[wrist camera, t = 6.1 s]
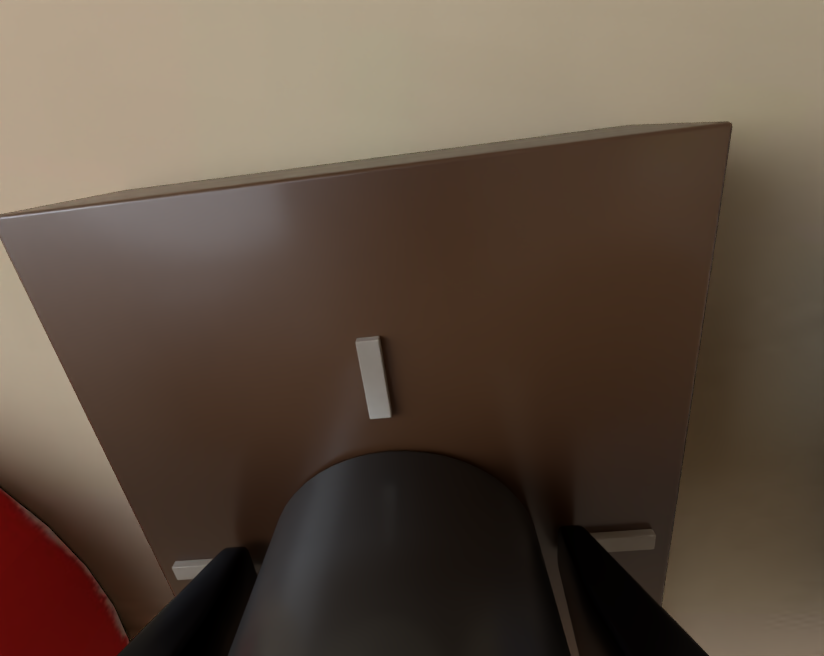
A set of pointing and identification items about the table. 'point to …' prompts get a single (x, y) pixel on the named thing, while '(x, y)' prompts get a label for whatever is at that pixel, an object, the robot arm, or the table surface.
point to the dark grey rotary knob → (402, 567)
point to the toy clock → (49, 594)
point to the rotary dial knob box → (394, 331)
